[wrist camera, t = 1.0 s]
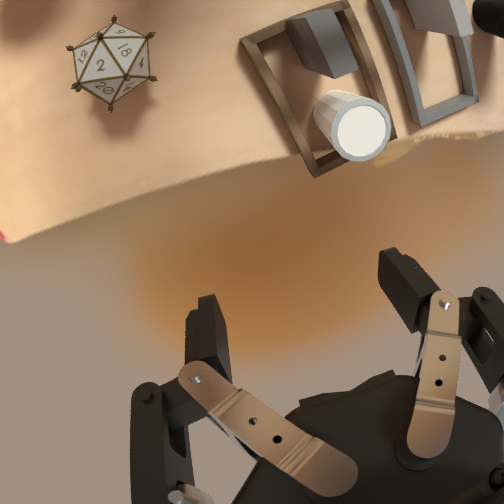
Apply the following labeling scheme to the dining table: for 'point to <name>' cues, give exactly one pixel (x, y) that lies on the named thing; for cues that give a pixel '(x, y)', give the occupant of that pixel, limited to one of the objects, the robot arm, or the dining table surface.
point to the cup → (490, 16)
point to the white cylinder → (352, 124)
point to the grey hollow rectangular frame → (441, 21)
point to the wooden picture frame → (319, 65)
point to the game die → (112, 62)
